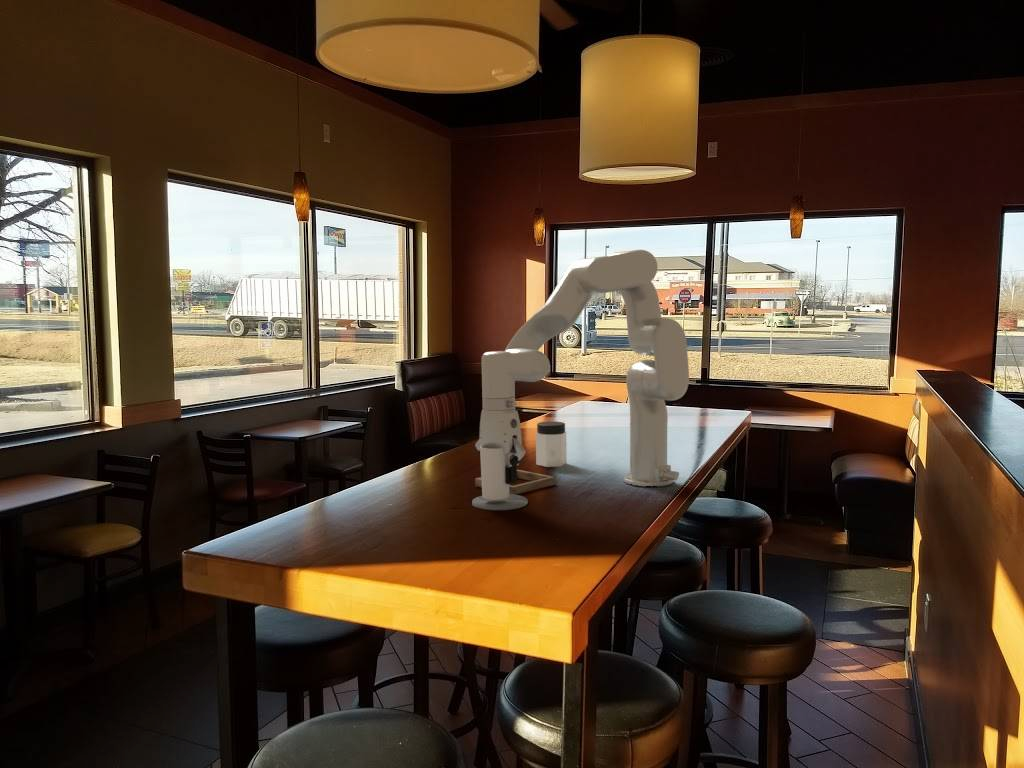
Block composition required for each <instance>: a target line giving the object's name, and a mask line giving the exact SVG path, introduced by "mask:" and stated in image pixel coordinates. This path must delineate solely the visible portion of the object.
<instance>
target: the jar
mask: <svg viewBox="0 0 1024 768" xmlns="http://www.w3.org/2000/svg"><path fill="white" fill-rule="evenodd" d="M535 455H536V456H535V464H536V465H537V466H540V467H545V468H555V467H557V468H558V467H563V466H564V465H566V464H567V463H568V462H567V459H568V458H567V431H566V423H565V422H564V421H563V422H562V421H553V420H552V421H551V420H549V421H541V422H537V424H536V433H535Z"/></svg>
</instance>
